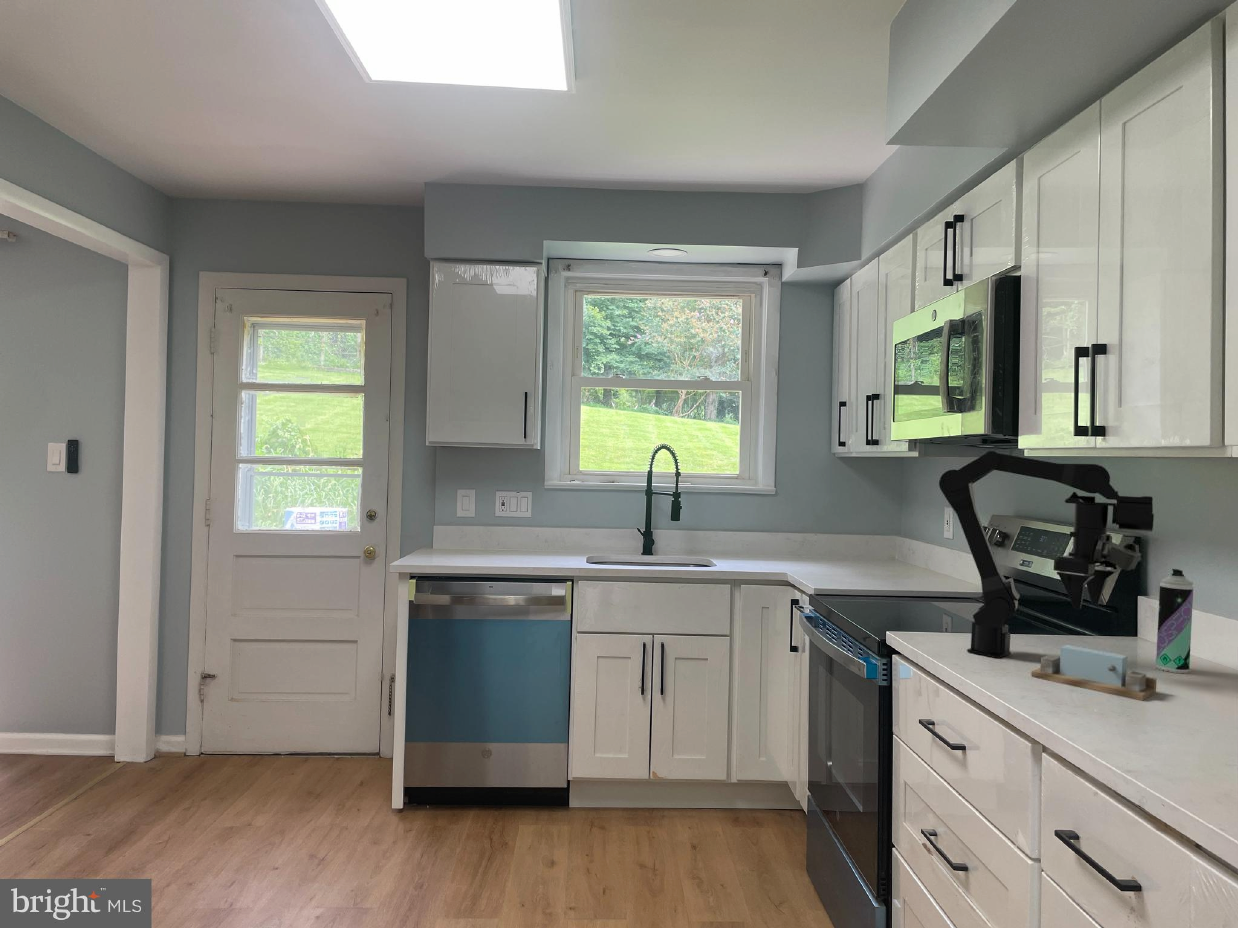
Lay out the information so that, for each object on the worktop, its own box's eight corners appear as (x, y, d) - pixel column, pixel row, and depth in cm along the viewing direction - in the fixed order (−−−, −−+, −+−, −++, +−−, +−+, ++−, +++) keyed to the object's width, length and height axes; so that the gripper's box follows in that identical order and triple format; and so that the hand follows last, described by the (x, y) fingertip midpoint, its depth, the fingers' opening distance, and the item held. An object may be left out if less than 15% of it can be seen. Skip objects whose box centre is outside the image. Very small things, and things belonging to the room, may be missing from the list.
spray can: (1149, 666, 164) (1154, 567, 163) (1169, 665, 165) (1174, 567, 165) (1175, 674, 158) (1180, 571, 158) (1195, 672, 160) (1200, 571, 160)
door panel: (1058, 674, 150) (1059, 647, 150) (1065, 671, 153) (1066, 644, 153) (1119, 687, 143) (1121, 658, 143) (1126, 683, 146) (1127, 655, 145)
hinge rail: (1031, 676, 152) (1032, 657, 152) (1047, 670, 157) (1048, 651, 157) (1142, 700, 139) (1143, 679, 139) (1155, 692, 144) (1156, 672, 144)
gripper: (1119, 533, 149) (1114, 618, 149) (1153, 530, 161) (1148, 609, 161) (1054, 527, 157) (1050, 608, 157) (1091, 525, 169) (1087, 600, 170)
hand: (1086, 606), depth 161 cm, fingers open, 9 cm apart
